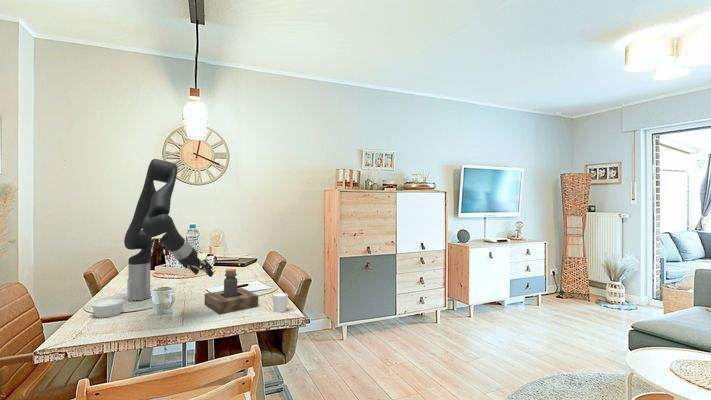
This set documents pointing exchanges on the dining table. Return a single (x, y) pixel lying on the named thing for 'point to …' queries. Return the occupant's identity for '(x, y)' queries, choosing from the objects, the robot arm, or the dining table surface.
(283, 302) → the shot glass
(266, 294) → the dining table surface
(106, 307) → the ramekin
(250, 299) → the holder block
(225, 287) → the bottle
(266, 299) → the dining table surface
